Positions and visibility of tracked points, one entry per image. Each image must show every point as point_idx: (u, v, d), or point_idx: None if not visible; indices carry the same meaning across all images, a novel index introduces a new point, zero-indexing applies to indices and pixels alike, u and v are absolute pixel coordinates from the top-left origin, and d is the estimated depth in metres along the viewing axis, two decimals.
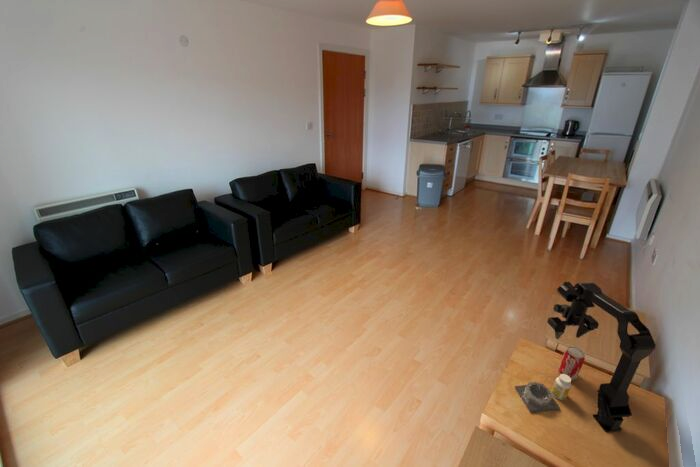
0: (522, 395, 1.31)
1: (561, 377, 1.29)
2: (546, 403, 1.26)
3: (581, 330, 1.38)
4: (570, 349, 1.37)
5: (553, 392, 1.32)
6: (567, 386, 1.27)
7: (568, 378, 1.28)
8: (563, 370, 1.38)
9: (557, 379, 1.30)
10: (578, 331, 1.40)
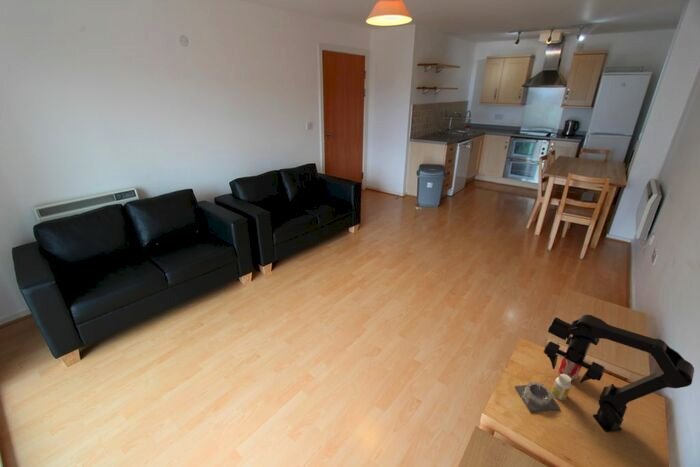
0: (522, 395, 1.31)
1: (561, 377, 1.29)
2: (546, 403, 1.26)
3: (584, 375, 1.22)
4: None
5: (553, 392, 1.32)
6: (567, 386, 1.27)
7: (568, 378, 1.28)
8: (563, 370, 1.38)
9: (557, 379, 1.30)
10: None
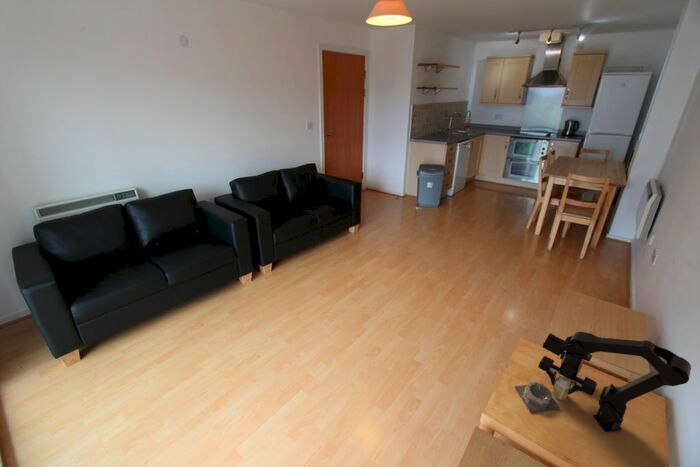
0: (522, 395, 1.31)
1: (561, 377, 1.29)
2: (546, 403, 1.26)
3: (572, 387, 1.27)
4: None
5: (553, 392, 1.32)
6: (567, 386, 1.27)
7: None
8: None
9: (557, 379, 1.30)
10: (571, 388, 1.28)
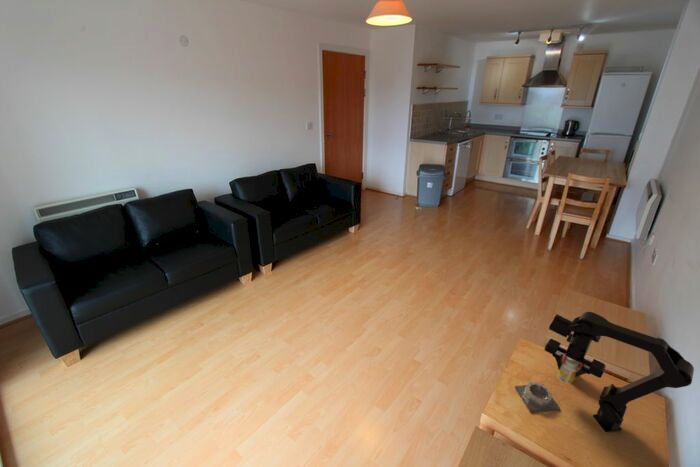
0: (522, 395, 1.31)
1: (568, 360, 1.25)
2: (546, 403, 1.26)
3: (579, 370, 1.23)
4: None
5: (559, 376, 1.28)
6: (574, 369, 1.23)
7: (575, 361, 1.24)
8: None
9: (563, 362, 1.26)
10: (578, 371, 1.24)
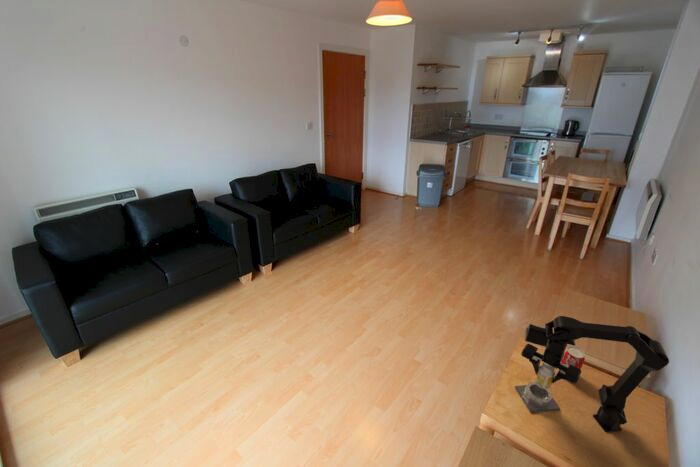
0: (522, 395, 1.31)
1: (544, 365, 1.23)
2: (546, 403, 1.26)
3: None
4: (570, 349, 1.37)
5: (537, 381, 1.26)
6: (551, 374, 1.22)
7: None
8: None
9: (540, 367, 1.25)
10: (555, 376, 1.23)
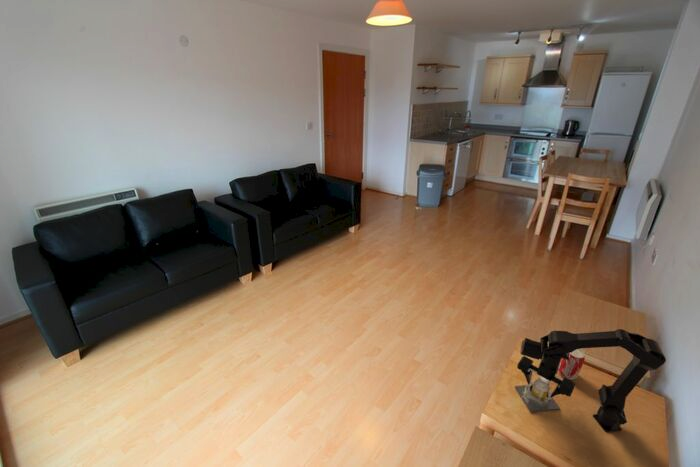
0: (522, 395, 1.31)
1: (540, 379, 1.27)
2: (546, 403, 1.26)
3: (554, 390, 1.24)
4: None
5: None
6: (546, 388, 1.25)
7: (547, 380, 1.26)
8: (563, 370, 1.38)
9: (536, 381, 1.28)
10: None
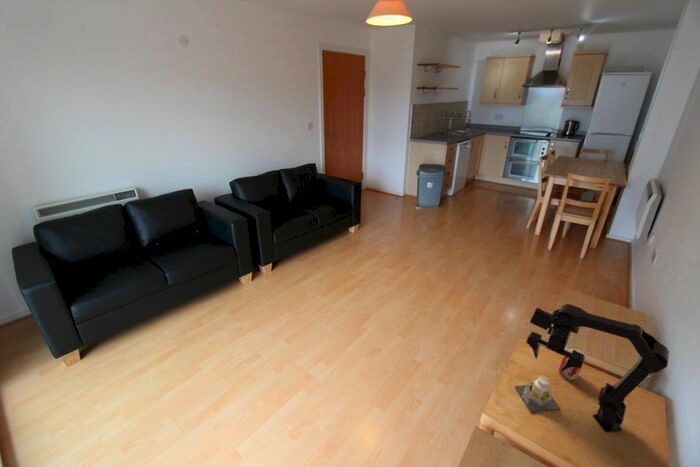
0: (522, 395, 1.31)
1: (539, 379, 1.26)
2: (546, 403, 1.26)
3: (565, 363, 1.25)
4: (570, 349, 1.37)
5: None
6: (546, 388, 1.25)
7: (546, 380, 1.26)
8: None
9: (536, 381, 1.28)
10: (564, 364, 1.26)
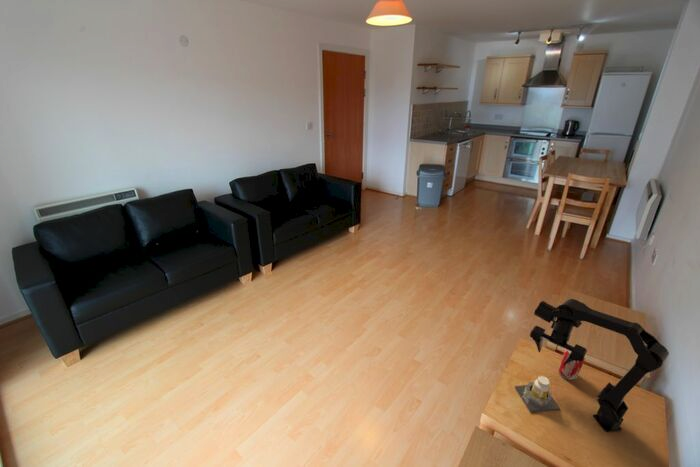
0: (522, 395, 1.31)
1: (539, 379, 1.26)
2: (546, 403, 1.26)
3: (567, 357, 1.28)
4: None
5: None
6: (546, 388, 1.25)
7: (546, 380, 1.26)
8: (563, 370, 1.38)
9: (536, 381, 1.28)
10: None
